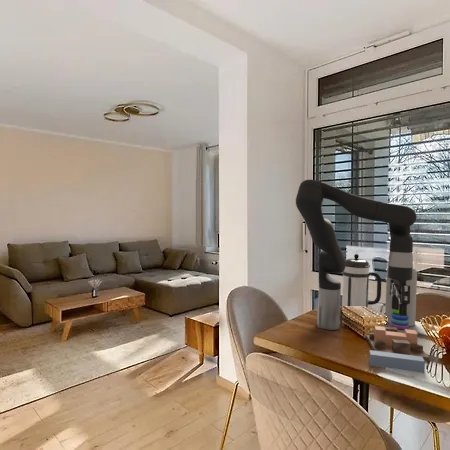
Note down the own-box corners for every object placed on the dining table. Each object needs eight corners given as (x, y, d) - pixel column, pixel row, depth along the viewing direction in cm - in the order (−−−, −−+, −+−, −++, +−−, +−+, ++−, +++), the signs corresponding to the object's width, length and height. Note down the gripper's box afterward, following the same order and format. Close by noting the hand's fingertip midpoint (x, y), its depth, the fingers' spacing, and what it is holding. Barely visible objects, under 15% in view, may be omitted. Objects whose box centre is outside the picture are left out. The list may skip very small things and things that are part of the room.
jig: (376, 356, 125) (377, 341, 125) (365, 337, 145) (365, 324, 144) (429, 361, 122) (430, 346, 122) (410, 340, 141) (411, 327, 141)
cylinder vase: (396, 327, 157) (398, 271, 156) (379, 319, 169) (381, 267, 168) (421, 326, 160) (423, 271, 159) (402, 318, 172) (404, 266, 171)
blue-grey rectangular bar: (370, 366, 118) (370, 354, 118) (369, 361, 122) (369, 350, 121) (424, 373, 113) (425, 361, 113) (421, 368, 117) (422, 356, 117)
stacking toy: (413, 335, 148) (415, 290, 147) (393, 335, 148) (395, 290, 147) (404, 329, 155) (405, 286, 155) (385, 328, 156) (387, 286, 155)
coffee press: (362, 320, 167) (364, 256, 166) (332, 312, 179) (334, 253, 178) (380, 314, 178) (383, 254, 177) (351, 307, 190) (353, 251, 189)
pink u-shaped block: (414, 344, 133) (415, 330, 133) (417, 349, 129) (417, 334, 129) (374, 339, 137) (374, 325, 137) (375, 344, 133) (375, 329, 133)
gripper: (419, 268, 114) (417, 318, 115) (405, 263, 128) (403, 307, 129) (394, 267, 115) (392, 317, 116) (383, 262, 129) (381, 306, 130)
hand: (398, 312), depth 122 cm, fingers open, 8 cm apart
